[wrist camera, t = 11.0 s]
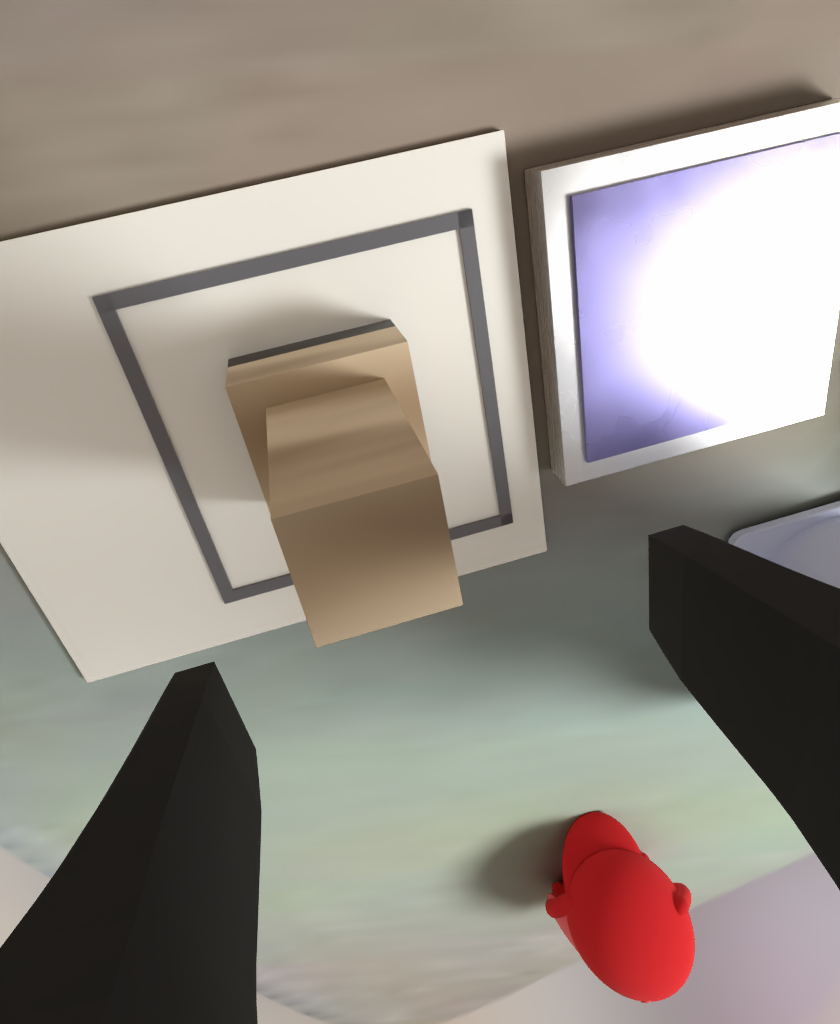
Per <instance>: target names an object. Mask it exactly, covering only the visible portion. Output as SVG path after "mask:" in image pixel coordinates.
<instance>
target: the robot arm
mask: <svg viewBox="0 0 840 1024" xmlns="http://www.w3.org/2000/svg"><path fill="white" fill-rule="evenodd" d="M649 629H650V631H651V633H652V634H653V636H654V638H655V639H656V641H657V643H658V644H659V646H660V648H661V649H662V651H663V653H664V654H665V656H666V658H667V659H668V661H669V662H670V664H671V666H672V667H673V669H674V670H675V672H676V673H677V675H678V677H679V678H680V680H681V681H682V682H683V684H684V685H685V686H686V687H687V689H688V690H689V691H690V692H691V694H692V695H693V696H694V697H695V699H696V700H697V701H698V702H699V704H700V705H701V706H702V707H703V709H704V710H705V711H706V712H707V714H708V715H709V716H710V717H711V719H712V720H713V721H714V722H715V723H716V725H717V726H718V727H719V728H720V730H721V731H722V732H723V733H724V734H725V736H726V737H727V738H728V739H729V740H730V742H731V743H732V744H733V745H734V747H735V748H736V749H737V750H738V751H739V753H740V754H741V755H742V756H743V758H744V759H745V760H746V761H747V762H748V764H749V765H750V766H751V767H752V769H753V770H754V771H755V772H756V773H757V775H758V776H759V777H760V778H761V780H762V781H763V782H764V783H765V784H766V786H767V787H768V788H769V789H770V791H771V792H772V793H773V794H774V796H775V797H776V798H777V800H778V801H779V802H780V804H781V805H782V806H783V808H784V809H785V810H786V812H787V813H788V814H789V816H790V817H791V818H792V820H793V821H794V822H795V824H796V825H797V827H798V828H799V830H800V831H801V833H802V834H803V836H804V837H805V839H806V840H807V842H808V843H809V845H810V846H811V848H812V849H813V851H814V852H815V854H816V855H817V857H818V858H819V859H820V861H821V863H822V864H823V866H824V867H825V869H826V870H827V871H828V873H829V874H830V876H831V877H832V879H833V880H834V882H835V884H836V885H837V887H838V888H839V890H840V501H837V502H834V503H831V504H827V505H824V506H820V507H817V508H813V509H810V510H807V511H803V512H800V513H796V514H793V515H790V516H786V517H783V518H779V519H776V520H772V521H769V522H766V523H762V524H759V525H755V526H752V527H749V528H745V529H742V530H739V531H737V532H735V533H734V534H733V535H732V536H731V537H730V539H729V541H728V543H727V542H724V541H722V540H720V539H717V538H715V537H712V536H710V535H708V534H705V533H703V532H700V531H697V530H695V529H692V528H689V527H687V526H684V525H682V526H679V527H675V528H672V529H668V530H665V531H661V532H658V533H655V534H651V535H649ZM260 844H261V801H260V788H259V776H258V766H257V756H256V749H255V746H254V744H253V742H252V740H251V738H250V736H249V734H248V732H247V730H246V728H245V725H244V723H243V721H242V719H241V717H240V715H239V713H238V711H237V709H236V707H235V704H234V702H233V700H232V698H231V696H230V694H229V692H228V690H227V688H226V686H225V683H224V681H223V679H222V677H221V675H220V673H219V671H218V669H217V667H216V665H215V662H211V663H208V664H204V665H201V666H197V667H194V668H190V669H187V670H184V671H180V672H177V673H175V674H174V675H173V677H172V679H171V680H170V682H169V684H168V686H167V687H166V689H165V691H164V693H163V694H162V696H161V698H160V700H159V702H158V703H157V705H156V707H155V709H154V711H153V712H152V714H151V716H150V718H149V720H148V721H147V723H146V725H145V727H144V729H143V731H142V732H141V734H140V736H139V738H138V739H137V741H136V743H135V745H134V747H133V748H132V750H131V752H130V754H129V755H128V757H127V759H126V761H125V762H124V764H123V766H122V767H121V769H120V771H119V772H118V774H117V776H116V778H115V779H114V781H113V783H112V784H111V786H110V788H109V790H108V791H107V793H106V795H105V796H104V798H103V800H102V801H101V803H100V805H99V806H98V808H97V809H96V811H95V813H94V814H93V816H92V817H91V819H90V820H89V822H88V823H87V825H86V827H85V828H84V830H83V831H82V833H81V834H80V836H79V837H78V839H77V841H76V842H75V844H74V845H73V847H72V848H71V850H70V851H69V853H68V855H67V856H66V858H65V859H64V861H63V862H62V864H61V865H60V867H59V868H58V870H57V871H56V873H55V874H54V876H53V877H52V878H51V880H50V881H49V883H48V884H47V886H46V887H45V888H44V890H43V891H42V893H41V894H40V895H39V897H38V898H37V900H36V901H35V902H34V904H33V905H32V907H31V908H30V909H29V910H28V912H27V913H26V914H25V916H24V917H23V919H22V920H21V921H20V923H19V924H18V925H17V926H16V928H15V929H14V930H13V932H12V933H11V934H10V936H9V937H8V939H7V940H6V941H5V942H4V944H3V945H2V946H1V948H0V1024H257V1006H256V956H257V929H258V902H259V874H260Z"/></svg>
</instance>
